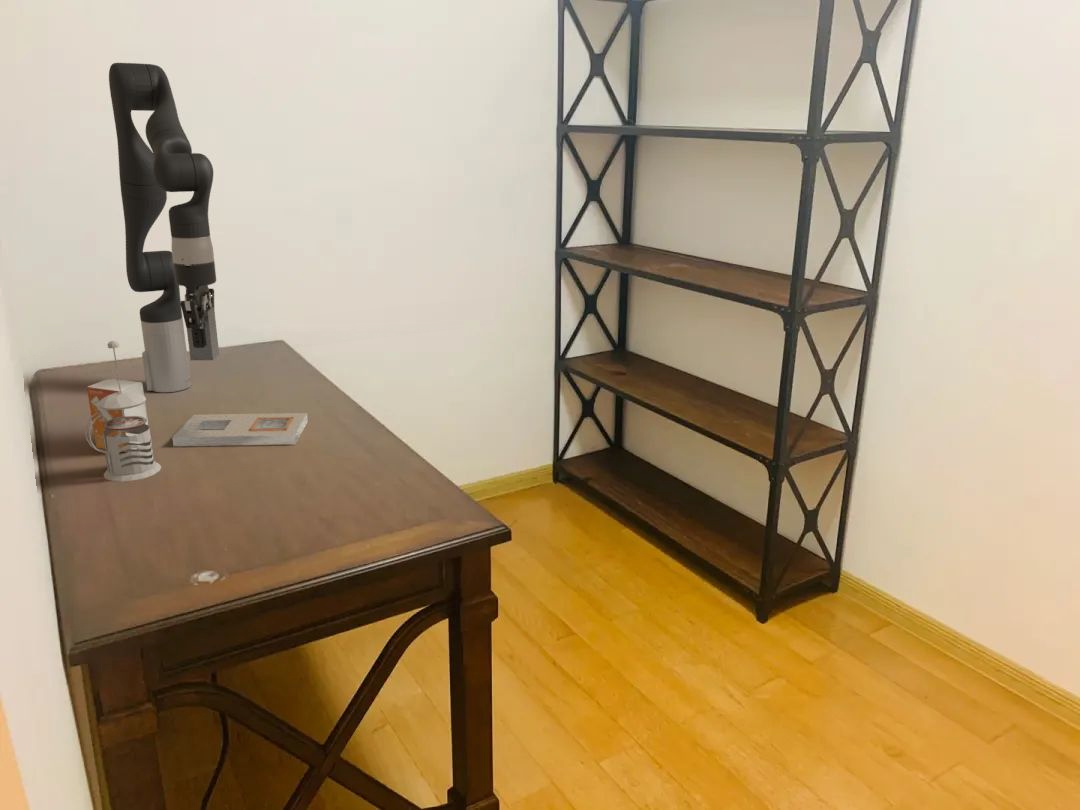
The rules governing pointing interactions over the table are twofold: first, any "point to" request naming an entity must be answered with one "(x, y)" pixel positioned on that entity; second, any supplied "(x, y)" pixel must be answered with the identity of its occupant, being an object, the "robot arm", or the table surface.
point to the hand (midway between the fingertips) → (203, 343)
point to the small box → (103, 390)
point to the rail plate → (241, 429)
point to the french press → (125, 437)
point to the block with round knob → (210, 338)
